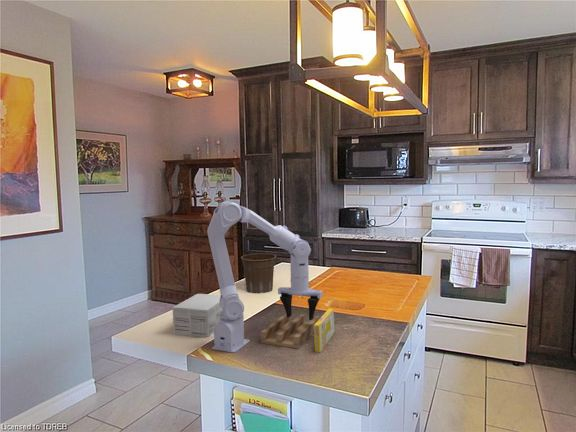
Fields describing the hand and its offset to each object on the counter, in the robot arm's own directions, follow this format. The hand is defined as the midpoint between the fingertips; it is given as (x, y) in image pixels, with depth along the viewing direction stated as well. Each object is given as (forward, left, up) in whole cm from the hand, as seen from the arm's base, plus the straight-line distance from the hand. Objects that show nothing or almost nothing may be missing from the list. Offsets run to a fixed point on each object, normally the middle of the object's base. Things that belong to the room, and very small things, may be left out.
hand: (300, 317), depth 129 cm
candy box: (-2, -9, -6) cm, 11 cm away
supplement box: (-4, +35, -6) cm, 36 cm away
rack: (0, +3, -6) cm, 7 cm away
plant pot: (+45, +38, -6) cm, 59 cm away
